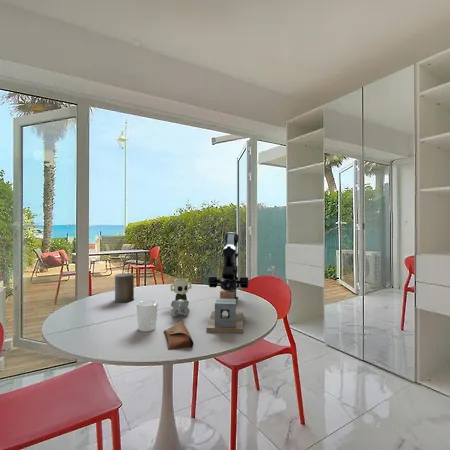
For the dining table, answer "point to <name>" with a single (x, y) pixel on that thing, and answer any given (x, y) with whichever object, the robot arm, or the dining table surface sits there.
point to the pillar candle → (124, 287)
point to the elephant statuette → (180, 307)
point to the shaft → (226, 295)
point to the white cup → (147, 315)
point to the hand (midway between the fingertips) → (227, 298)
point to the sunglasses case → (178, 337)
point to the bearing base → (226, 329)
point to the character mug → (181, 288)
